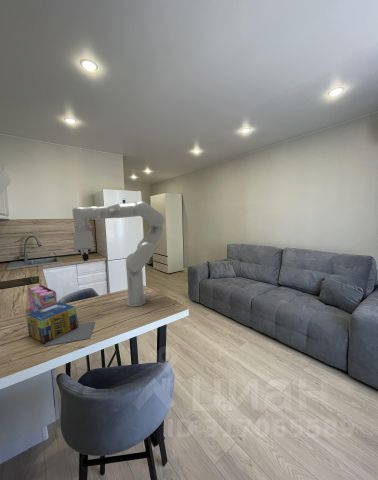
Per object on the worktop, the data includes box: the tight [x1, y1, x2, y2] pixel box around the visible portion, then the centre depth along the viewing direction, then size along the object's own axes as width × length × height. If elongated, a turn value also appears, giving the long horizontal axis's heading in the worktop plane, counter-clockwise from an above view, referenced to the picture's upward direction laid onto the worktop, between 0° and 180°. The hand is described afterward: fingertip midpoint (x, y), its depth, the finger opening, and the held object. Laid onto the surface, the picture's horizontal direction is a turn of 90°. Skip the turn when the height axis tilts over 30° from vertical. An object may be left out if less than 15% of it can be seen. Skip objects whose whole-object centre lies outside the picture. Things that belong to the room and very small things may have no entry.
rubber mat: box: [43, 321, 96, 348], centre depth 100 cm, size 18×16×1 cm
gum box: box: [27, 284, 58, 312], centre depth 125 cm, size 24×8×14 cm, turn 52°
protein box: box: [25, 301, 79, 344], centre depth 101 cm, size 10×15×16 cm
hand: (86, 260), depth 122 cm, fingers closed
